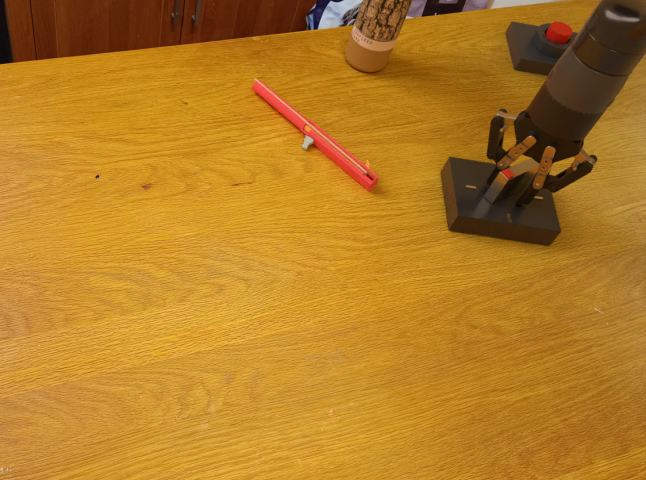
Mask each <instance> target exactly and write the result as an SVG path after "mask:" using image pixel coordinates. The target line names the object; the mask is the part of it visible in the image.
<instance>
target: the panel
mask: <svg viewBox="0 0 646 480" xmlns="http://www.w3.org/2000/svg"><path fill="white" fill-rule="evenodd" d="M512 166H513V165H512ZM512 166H511V165H509V167H508V168H510V167H512ZM495 167H496V163H492V162H487V161H480V160H475V159H474V160H473V159H468V158H461V157H456V156H448V158H447V160H446V162H445V163H444V165H443V167H442V168H441V171H440V179H441V186H442V192H443V199H444V200H443V201H444V207H445V208H444V209H445V216H446V221H447V222H446V223H447V227H448V228H447V230H448V231H450V232H455V233H463V234H468V235H476V236H482V237H488V238H494V239H501V240H507V241H513V242H514V241H515V242H520V243H527V244H533V245H541V246H546V247H550V246H551V245H552V244H553V242H554V241H555V240H556V239H557V238H558V236H559V235H560V234H561V233H562V228H561V223H560V219H559V215H558V211H557V208H556V203H555V199H554V195H553V193H552V192H550V191H549V190H548V189H541V190H539V192H538V193H537V194H536V196H535V197H534V198H533V200H532V201H531V202H530V204H528V205H525V204H522V206H521V207H520V206H518V205H516V203H517V202H518V200H519V198H520V197H521V195H522V194H523V192H524V191H525V190H526V188H527V187H528V186H529V184H530V183H531V181H532V180H533V179H534V177H536V174H537V172H536V174H535V175H534V177H533V178H532V179H531V181H530V182H529V184H528V185H527V186H526V188H525V189H523V190H521V191H519V192H517V193H515V194H513V195H510V196H508V197H506V198H504V199H502V200H500V201H498V202H495V203H493V204H491V203H490V202H489V201H488V200H487V199H486V198H485V197H484V195H485V194H486V192H487V191H488V187H489V186H490V185H488V184H487V179H488V178H489V176H490V175H491V173H492V172H493V170H494V168H495Z"/></svg>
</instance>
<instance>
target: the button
mask: <svg viewBox="0 0 646 480" xmlns="http://www.w3.org/2000/svg"><path fill="white" fill-rule="evenodd" d="M573 32H574V30H573V28H572V27H571V26H570V25H569V24H567V23H565V22H562V21H552V23H551V25H550V27H549V29H548V30H547V32H546V37H547V38H548V39H549V40H551V41H553V42H555V43H558V44H566V43H567V41H568V40H569V38H570V37H571V35H572V33H573Z"/></svg>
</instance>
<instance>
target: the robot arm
mask: <svg viewBox="0 0 646 480" xmlns="http://www.w3.org/2000/svg"><path fill="white" fill-rule="evenodd" d="M577 33H578V35H577V36H576V38H575V39H574V41H573V42H572V44H571V45H570V46H569V47H568V49H567V50H566V51H565V52H564V53H563V55H562V56H561V57H560V58H559V60H558V61H557V63H556V65H555V66H554V68H553V69H551V71H550V72H549V74H548V76H546V79H545V80H544V82H543V83H542V85H541V86H540V88H539V89H538V91H537V93H536V94H535V96H534V97H533V98H532V100H531V102H530V103H529V105H528V106H527V108H525V109H524V110H522V111H521V112H519V113H518V114H514V113H509V112H508V110H507V109H506V108H503V107H501V108H499V109H498V110H497V112H495V114H494V115H493V117H492V118H491V120H490V126H489V133H488V140H487V148H486V153H485V154H486V155H485V156H486V158H487V159H488V160H491V161H493V162H494V164H496V167H495V168H494V170H493V172H492V173H491V175H490V176H489V178H488V179H487V184H488V185H490V186H491V184H492V183H493V181H494V180H495V178H496V177H497V175H498V174H499V172H501V171H503V170H505V169H507V168H508V167H509V166H511V164H512V163H514V162H516V161H517V160H518V159H519V158H520V157H521V156H524V157H526V158H529V159H530V158H532V159H534V160H535V161H536V162H537V163H539V164H540V165H539V167H538V170H537V174H536V177H534V179H533V180H532V181H531V183H530V184H529V186H528V187H527V188H526V190H525V191H524V192H523V194H522V195H521V197H520V198H519V200H518V202H517V203H516V205H518V206H520V207H521V206H522V204H525V205H528V204H530V202H531V201H532V200H533V198H534V197H535V196H536V194H537V193H538V192H539V190H541V189H548V190H549V191H550V192H552V194H555V193H557V192H559V191H561V190H563V189H565V188H566V187H569V186H570V185H571V184H573V183H575V182H577V181H579V180H580V179H582V178H584V177H585V176H587V175H588V174H591V172H592V171H593V169H594V167H595V165H596V164H597V162H598V157H597V156H596V155H595V154H588V153H587V151H586V150H585V149H584V148H583V147H584V144H585V143H584V142H585V139H586V137H587V136H588V135H589V133H590V132H591V131H592V129H593V128H594V127H595V125H596V124H597V123H598V121H599V120H600V119H601V117H602V116H603V115H604V114H605V112H606V111H607V110H608V108H609V107H611V106H612V104H614V102H615V100H616V98H617V96H618V95H619V94H620V92H621V91H622V90H623V89H624V86H625V85H626V83H627V82H628V80H629V78H630V76H631V74H632V73H633V72H634V70H635V69H636V67H637V66H638V65H639V63H640V62H641V61H642V60H643V58H644V57H645V55H646V0H600V1H599V2H598V3H597V4H596V6H595V7H594V9H593V10H592V11H591V13H590V14H589V16H588V18H587V19H586V20H585V22H584V24H583V25H582V26H581V28H580V30H579V31H578V32H577ZM511 126H513V129H514V137H515V142H514V143H513V144H512V145H511V146H510V147H509V148H508V149H507V150H505V148H503V147H504V140H505V134H506V133H505V132H507V131H508V130H509V129H510V127H511ZM570 158H573V161H572V162H571V164H570V166H568V167H567V168H565V169H564V170H562V171H560V172H559V173H556V174H555V175H554V174H551V171H552V169H553V166H554V164H555V163H558V162H561V161H564V160H567V159H570ZM490 186H489V187H488V189H489V188H490Z"/></svg>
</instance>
